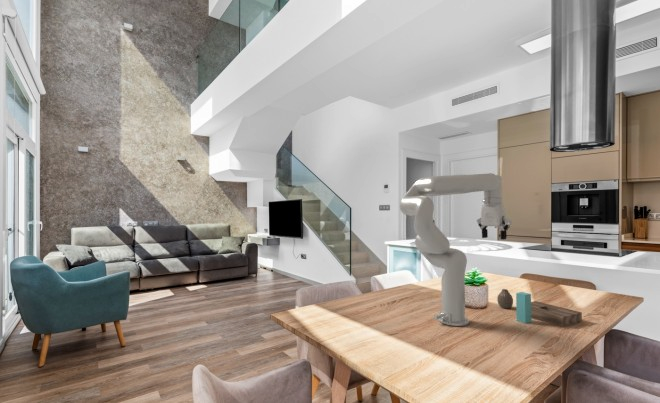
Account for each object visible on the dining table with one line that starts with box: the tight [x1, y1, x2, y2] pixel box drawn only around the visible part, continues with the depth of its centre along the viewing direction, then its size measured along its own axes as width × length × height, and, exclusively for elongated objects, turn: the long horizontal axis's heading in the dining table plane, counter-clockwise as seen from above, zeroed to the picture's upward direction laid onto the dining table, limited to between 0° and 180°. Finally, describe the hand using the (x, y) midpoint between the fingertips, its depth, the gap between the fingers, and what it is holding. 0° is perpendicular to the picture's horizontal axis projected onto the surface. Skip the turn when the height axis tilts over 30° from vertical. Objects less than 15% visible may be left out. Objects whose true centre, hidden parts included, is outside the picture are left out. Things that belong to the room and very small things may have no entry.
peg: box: [515, 291, 532, 324], centre depth 148 cm, size 4×4×12 cm
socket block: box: [531, 300, 583, 328], centre depth 153 cm, size 14×20×4 cm
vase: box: [496, 288, 514, 310], centre depth 168 cm, size 7×7×9 cm
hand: (493, 238), depth 159 cm, fingers open, 9 cm apart
